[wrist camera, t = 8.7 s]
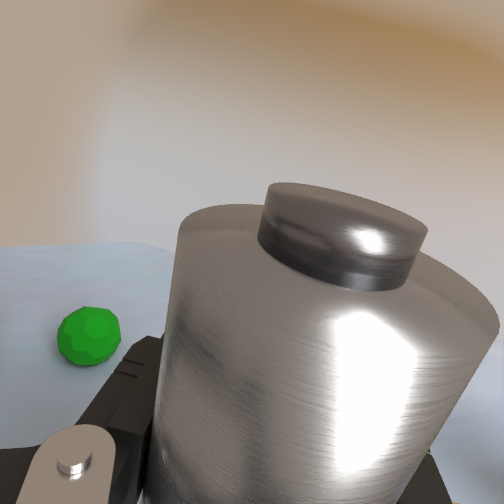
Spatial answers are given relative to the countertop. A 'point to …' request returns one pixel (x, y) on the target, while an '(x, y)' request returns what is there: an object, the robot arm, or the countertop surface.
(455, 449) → the countertop surface
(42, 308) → the countertop surface
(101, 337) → the polyhedron
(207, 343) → the cylinder
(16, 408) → the countertop surface
